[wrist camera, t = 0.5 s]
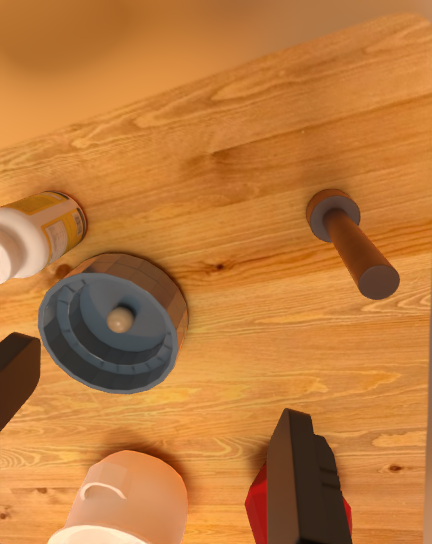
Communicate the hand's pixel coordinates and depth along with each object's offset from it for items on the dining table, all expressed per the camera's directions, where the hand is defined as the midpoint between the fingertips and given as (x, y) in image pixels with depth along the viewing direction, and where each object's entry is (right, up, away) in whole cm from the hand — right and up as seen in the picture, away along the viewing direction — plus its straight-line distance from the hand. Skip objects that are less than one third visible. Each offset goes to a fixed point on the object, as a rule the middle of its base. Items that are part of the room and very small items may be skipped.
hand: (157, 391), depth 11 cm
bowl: (-9, -1, +30) cm, 32 cm away
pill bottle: (-15, +10, +27) cm, 32 cm away
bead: (-9, -2, +28) cm, 30 cm away
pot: (-10, -29, +43) cm, 53 cm away
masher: (+13, +10, +23) cm, 28 cm away
